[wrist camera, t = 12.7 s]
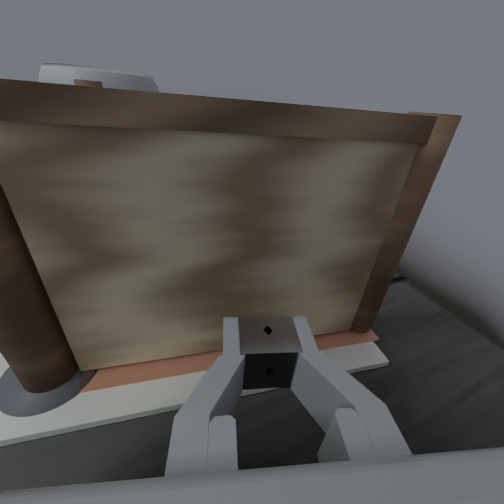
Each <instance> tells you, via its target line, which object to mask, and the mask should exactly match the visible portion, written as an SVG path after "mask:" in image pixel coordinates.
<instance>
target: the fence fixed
mask: <svg viewBox="0 0 504 504" xmlns="http://www.w3.org/2000/svg"><path fill="white" fill-rule="evenodd" d="M74 83H75V85H79V86H90V87H102V88H103V85H102V82H99V81H90V80H79V79H74ZM0 352H1V354H2V355H3V357H4V358H5V360H6V361H7V363H8V364H9V366H10V368H11V369H12V371H13V372H14V374H15V375H16V377H17V379H18V380H19V382H20V383H21V385H22V386H23V388H24V389H25V390H26V391H27V392H30V393H44V392H48V391H51V390H54V389H56V388H58V387H60V386H61V385H63V384H64V383H66V382H67V381H68V380H70V379H71V378H72V377H73V376H74V375H75V373H76V372H77V370H78V369H79V366H78V364H77V362H76V359H75V357H74V354H73V352H72V350H71V347H70V345H69V343H68V340H67V338H66V336H65V333H64V331H63V329H62V326H61V324H60V322H59V319H58V317H57V315H56V312H55V310H54V308H53V305H52V303H51V300H50V298H49V296H48V293H47V291H46V289H45V286H44V284H43V282H42V279H41V277H40V275H39V272H38V270H37V268H36V265H35V263H34V261H33V258H32V256H31V253H30V251H29V249H28V246H27V244H26V242H25V239H24V237H23V235H22V232H21V230H20V228H19V225H18V223H17V221H16V218H15V216H14V214H13V211H12V209H11V207H10V204H9V202H8V199H7V197H6V195H5V192H4V190H3V188H2V185H1V183H0Z"/></svg>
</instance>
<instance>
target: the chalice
mask: <svg viewBox="0 0 504 504" xmlns="http://www.w3.org/2000/svg"><path fill="white" fill-rule="evenodd" d="M74 79H79V80H90V81H99V82H102V85H103V88H113V89H125V90H136V91H148V92H159V90H158V87H157V85H156V83H155V81H154V80H153V78H152V77H151V76H150V75H146V74H141V73H136V72H129V71H123V70H115V69H108V68H100V67H90V66H81V65H69V64H53V63H44V64H42V66H41V70H40V75H39V82H44V83H56V84H67V85H75V83H74Z"/></svg>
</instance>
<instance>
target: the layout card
mask: <svg viewBox="0 0 504 504" xmlns="http://www.w3.org/2000/svg"><path fill="white" fill-rule="evenodd" d="M313 337H314V339H315V342H316V344H317V347H318V349H319V352H324V353H325V354H327V355H328V356H329V357H330V358H331V359H333V360H334V361H335V362H336V363H337V364H338V365H340V366H341V367H342V368H343V369H344V370H346V371H347V372H348V373H349V374H350V373H355V372H360V371H364V370H369V369H374V368H379V367H384V366H387V365H388V363H389V360H388V359H387V358H386V357H385V355H384V354H383V353H382V352H381V350H380V349H379V348H378V347H377V345H376V344H375V343H374V342H373V341H376V340H380V339H379V337H378V336H377V335H376V334H375V333H374V332H373V330H372V329H370V330H369V331H368V332H366V333H356V332H353V331H351V330H346V331H339V332H333V333H326V334H320V335H313ZM218 356H223V350H216V351H210V352H203V353H197V354H190V355H184V356H177V357H171V358H164V359H158V360H151V361H145V362H138V363H132V364H125V365H119V366H112V367H106V368H99V369H93V370H86V371H80V369H78V370H77V372H76V373H75V375H74V376H73V377H72V378H71V379H70V380H68V381H67V382H66V383H64V384H63V385H61V386H60V387H58V388H56V389H54V390H51V391H48V392H44V393H30V392H27V391H26V390H25V389H24V388H23V386H22V385H21V383H20V382H19V380H18V379H17V377H16V375H15V374H14V372H13V371H12V369H11V368H10V366H9V364H8V363H7V361H6V360H5V358H4V357H3V355H2V354H1V353H0V446H5V445H10V444H15V443H19V442H24V441H29V440H34V439H39V438H43V437H48V436H53V435H58V434H62V433H67V432H72V431H77V430H82V429H86V428H91V427H96V426H101V425H106V424H110V423H115V422H120V421H125V420H130V419H134V418H139V417H144V416H149V415H154V414H158V413H163V412H168V411H173V410H178V409H180V408H181V407H182V405H183V404H184V403H185V401H186V400H187V399H188V397H189V396H190V394H191V393H192V392H193V390H194V389H195V388H196V386H197V385H198V384H199V382H200V381H201V379H202V378H203V377H204V375H205V374H206V373H207V371H208V370H209V368H210V367H211V366H212V364H213V363H214V362H215V360H216V359H217V357H218ZM273 389H278V388H263V389H251V390H242V394H241V396H245V395H249V394H254V393H259V392H264V391H269V390H273Z"/></svg>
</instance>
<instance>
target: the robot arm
mask: <svg viewBox="0 0 504 504" xmlns="http://www.w3.org/2000/svg"><path fill="white" fill-rule="evenodd" d="M263 388H291V390H292V391H293V393H294V394H295V395H296V397H297V398H298V399H299V400H300V402H301V403H302V404H303V406H304V407H305V408H306V409H307V411H308V412H309V413H310V414H311V416H312V417H313V418H314V420H315V421H316V422H317V423H318V425H319V426H320V427H321V429H322V430H323V431H324V432H325V434H326V435H325V437H324V439H323V442H322V444H321V446H320V448H319V451H318V453H317V456H318V460H319V463H313V464H302V465H291V466H279V467H268V468H256V469H245V470H238V459H237V437H236V420H235V419H234V418H233V417H232V416H231V414H232V412H233V410H234V408H235V406H236V404H237V402H238V400H239V398H240V396H241V394H242V390H251V389H263ZM0 504H504V447H496V448H485V449H473V450H462V451H451V452H439V453H428V454H416V455H413V454H412V453H411V451H410V449H409V447H408V445H407V443H406V441H405V439H404V438H403V436H402V434H401V432H400V430H399V428H398V426H397V425H396V423H395V421H394V419H393V417H392V415H391V413H390V411H389V410H388V408H387V406H386V404H385V403H383V402H382V401H381V400H380V399H379V398H378V397H376V396H375V395H374V394H373V393H372V392H370V391H369V390H368V389H367V388H366V387H364V386H363V385H362V384H361V383H360V382H359V381H357V380H356V379H355V378H354V377H353V376H351V375H350V374H349V373H348V372H347V371H346V370H344V369H343V368H342V367H341V366H340V365H338V364H337V363H336V362H335V361H334V360H333V359H331V358H330V357H329V356H328V355H327V354H325V353H324V352H319V349H318V347H317V344H316V342H315V339H314V337H313V334H312V331H311V329H310V326H309V324H308V321H307V319H306V317H305V316H270V317H238V318H237V317H224V319H223V356H218V357H217V359H216V360H215V362H214V363H213V364H212V366H211V367H210V368H209V370H208V371H207V373H206V374H205V375H204V377H203V378H202V379H201V381H200V382H199V384H198V385H197V386H196V388H195V389H194V390H193V392H192V393H191V394H190V396H189V397H188V399H187V400H186V401H185V403H184V404H183V405H182V407H181V408H180V410H179V411H178V412H177V414H176V415H175V416H174V421H173V427H172V433H171V439H170V445H169V451H168V457H167V463H166V469H165V475H164V477H154V478H143V479H131V480H120V481H109V482H97V483H86V484H75V485H63V486H52V487H41V488H29V489H18V490H6V491H0Z"/></svg>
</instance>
